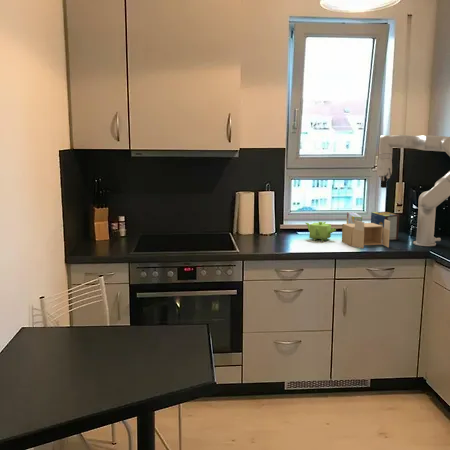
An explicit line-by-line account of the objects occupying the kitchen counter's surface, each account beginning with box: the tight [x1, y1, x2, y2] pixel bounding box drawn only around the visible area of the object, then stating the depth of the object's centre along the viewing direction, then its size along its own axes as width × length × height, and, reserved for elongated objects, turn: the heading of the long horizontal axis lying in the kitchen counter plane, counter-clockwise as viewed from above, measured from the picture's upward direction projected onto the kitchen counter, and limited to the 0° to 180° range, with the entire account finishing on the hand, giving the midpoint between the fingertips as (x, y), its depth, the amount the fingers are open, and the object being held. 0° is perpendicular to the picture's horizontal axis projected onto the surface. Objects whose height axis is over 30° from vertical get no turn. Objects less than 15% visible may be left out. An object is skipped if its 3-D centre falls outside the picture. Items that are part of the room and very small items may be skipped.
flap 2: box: [382, 220, 390, 248], centre depth 307 cm, size 9×1×15 cm, turn 5°
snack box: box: [346, 211, 363, 224], centre depth 332 cm, size 21×6×15 cm, turn 179°
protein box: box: [370, 211, 400, 241], centre depth 333 cm, size 10×15×16 cm
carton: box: [341, 222, 383, 247], centre depth 316 cm, size 20×12×11 cm, turn 103°
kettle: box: [305, 221, 337, 242], centre depth 326 cm, size 15×14×11 cm
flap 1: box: [351, 221, 365, 250], centre depth 303 cm, size 9×1×15 cm, turn 29°
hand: (383, 187), depth 315 cm, fingers closed
